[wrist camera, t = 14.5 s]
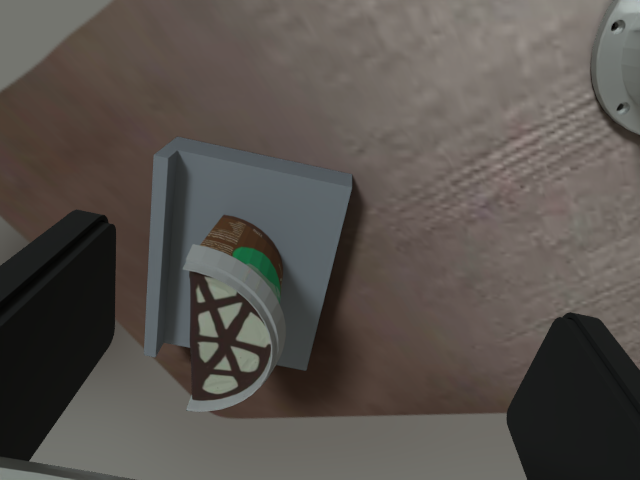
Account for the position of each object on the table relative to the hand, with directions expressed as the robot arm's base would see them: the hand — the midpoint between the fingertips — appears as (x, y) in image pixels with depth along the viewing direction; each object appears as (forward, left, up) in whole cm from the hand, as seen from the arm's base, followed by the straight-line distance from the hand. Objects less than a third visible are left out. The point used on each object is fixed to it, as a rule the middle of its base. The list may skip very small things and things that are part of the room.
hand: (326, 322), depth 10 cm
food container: (+4, +15, -26) cm, 30 cm away
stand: (+5, +15, -28) cm, 32 cm away
